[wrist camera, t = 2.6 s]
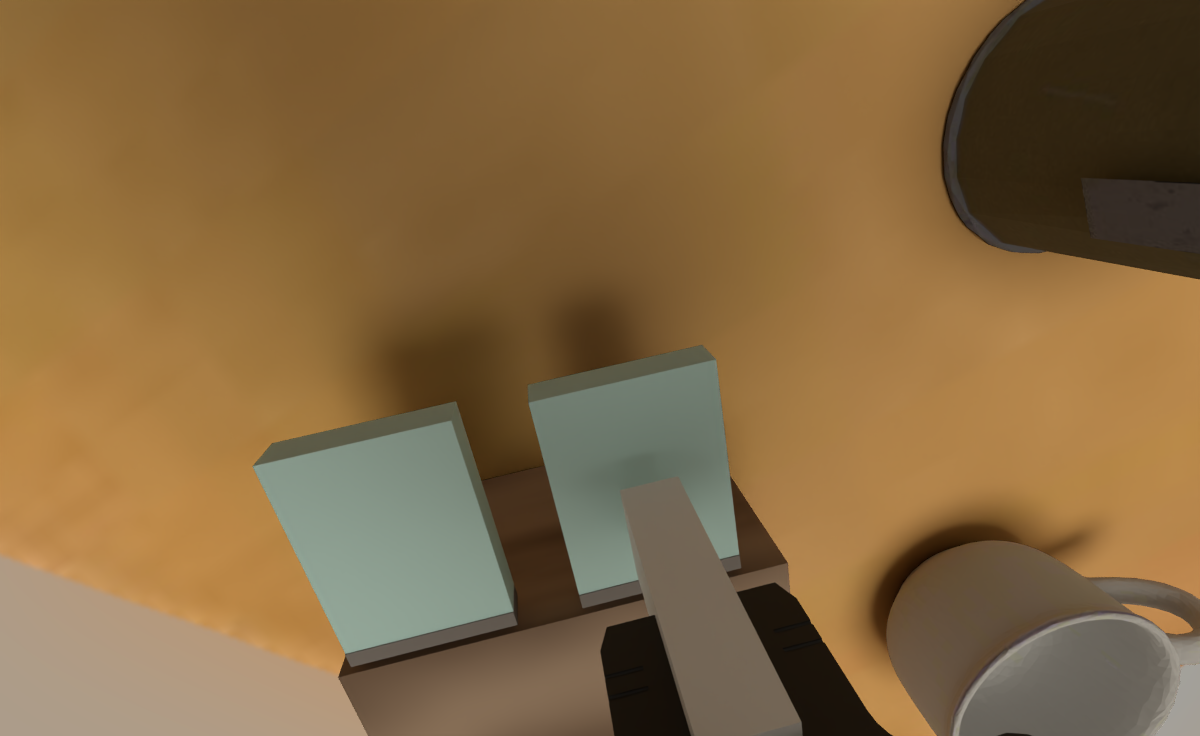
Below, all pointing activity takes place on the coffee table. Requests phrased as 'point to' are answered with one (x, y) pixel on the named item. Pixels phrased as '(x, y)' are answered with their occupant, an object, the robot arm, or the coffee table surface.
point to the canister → (1084, 133)
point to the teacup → (1036, 645)
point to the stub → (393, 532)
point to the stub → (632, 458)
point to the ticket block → (528, 637)
